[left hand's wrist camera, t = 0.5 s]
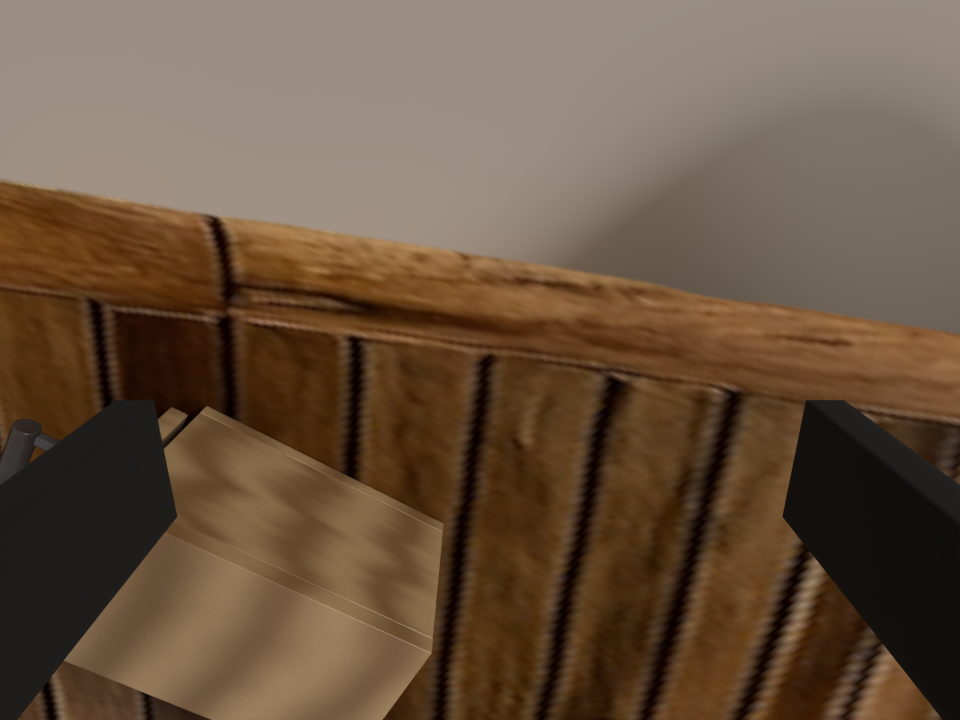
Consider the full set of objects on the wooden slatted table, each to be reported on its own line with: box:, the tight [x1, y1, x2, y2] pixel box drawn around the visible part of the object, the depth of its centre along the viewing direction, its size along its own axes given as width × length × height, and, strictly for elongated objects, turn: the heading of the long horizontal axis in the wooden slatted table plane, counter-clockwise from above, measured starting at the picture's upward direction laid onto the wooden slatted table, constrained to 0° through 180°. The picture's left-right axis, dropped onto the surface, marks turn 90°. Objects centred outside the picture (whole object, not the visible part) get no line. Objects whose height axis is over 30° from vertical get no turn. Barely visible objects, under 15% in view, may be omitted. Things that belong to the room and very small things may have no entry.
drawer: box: [0, 407, 187, 485], centre depth 39 cm, size 23×10×10 cm, turn 59°
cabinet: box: [64, 406, 444, 720], centre depth 40 cm, size 19×11×12 cm, turn 59°
